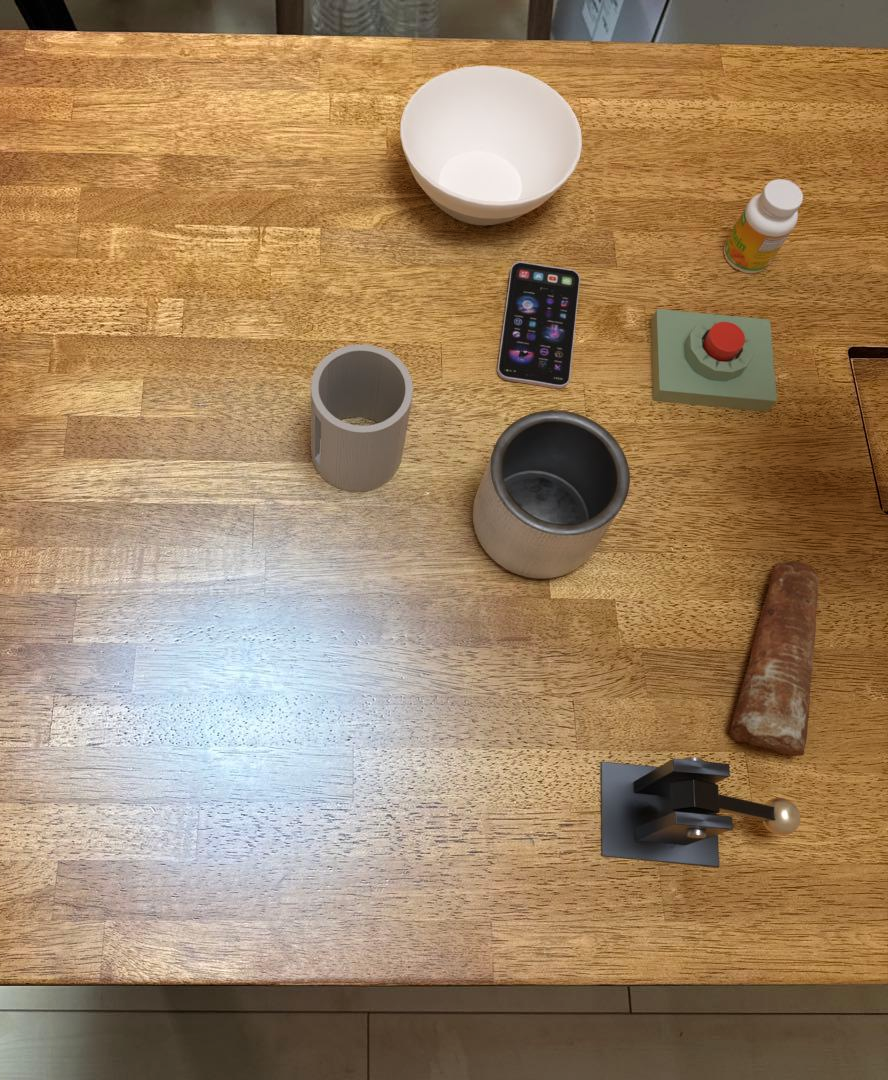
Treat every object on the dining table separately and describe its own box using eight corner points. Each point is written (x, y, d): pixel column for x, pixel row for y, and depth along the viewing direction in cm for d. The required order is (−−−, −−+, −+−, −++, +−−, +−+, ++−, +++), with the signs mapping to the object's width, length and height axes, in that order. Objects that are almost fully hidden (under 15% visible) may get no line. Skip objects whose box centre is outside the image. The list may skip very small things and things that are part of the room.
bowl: (518, 284, 110) (533, 234, 103) (362, 210, 114) (366, 155, 106) (592, 166, 117) (612, 110, 110) (444, 99, 121) (452, 40, 113)
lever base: (709, 774, 90) (764, 747, 80) (714, 868, 87) (771, 853, 76) (597, 763, 90) (636, 735, 80) (598, 857, 87) (639, 841, 76)
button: (737, 333, 105) (744, 323, 103) (739, 362, 103) (746, 353, 102) (702, 329, 105) (708, 319, 103) (704, 359, 103) (710, 349, 102)
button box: (761, 331, 109) (777, 308, 105) (768, 412, 105) (785, 391, 102) (650, 320, 109) (662, 298, 106) (652, 401, 105) (665, 380, 102)
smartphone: (581, 270, 111) (569, 387, 105) (579, 274, 111) (567, 390, 105) (512, 260, 111) (496, 376, 105) (511, 263, 111) (495, 379, 106)
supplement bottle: (715, 238, 114) (750, 176, 105) (761, 232, 114) (799, 170, 105) (731, 278, 112) (767, 217, 103) (777, 271, 112) (817, 211, 103)
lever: (776, 802, 87) (806, 799, 84) (778, 838, 85) (810, 836, 83) (666, 777, 81) (696, 772, 78) (667, 815, 80) (697, 812, 77)
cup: (419, 440, 103) (431, 376, 92) (370, 508, 100) (377, 450, 88) (344, 396, 104) (347, 328, 93) (293, 461, 101) (291, 398, 90)
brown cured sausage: (717, 744, 91) (741, 730, 86) (763, 562, 99) (787, 539, 94) (786, 770, 91) (814, 758, 86) (827, 585, 98) (855, 563, 93)
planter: (504, 600, 96) (527, 556, 86) (450, 489, 101) (465, 434, 90) (621, 556, 98) (657, 507, 88) (563, 448, 103) (591, 390, 93)
